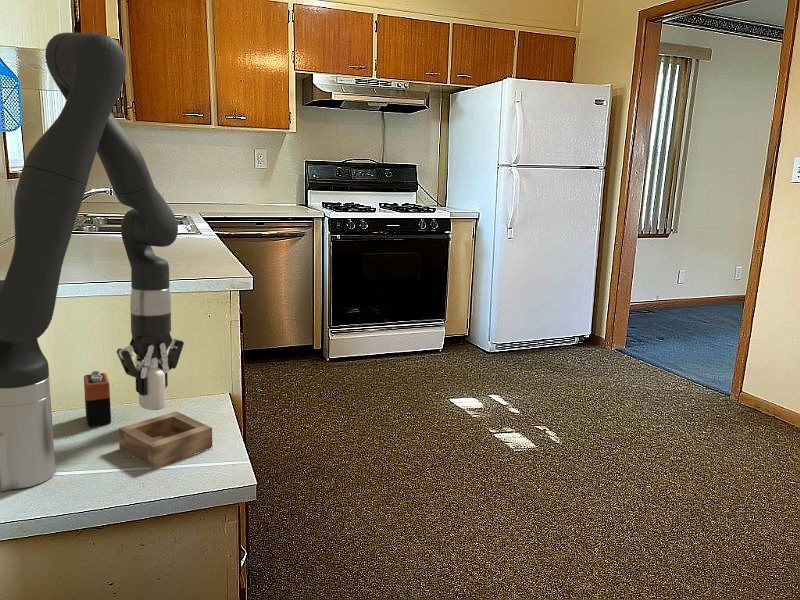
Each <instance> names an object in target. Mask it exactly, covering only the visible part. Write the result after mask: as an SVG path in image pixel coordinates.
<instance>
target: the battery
mask: <svg viewBox="0 0 800 600" xmlns="http://www.w3.org/2000/svg"><path fill="white" fill-rule="evenodd" d="M83 387H84V406H85V416H86V424H87V426H88V427H95V426H102V425H103V426H104V425H110V424H111V422H112V410H111V390H110V389H111V388H110V381H109V378H108V375H107V373H105V372H103V373H102V372H100V371H98V370H93V371H91V374H85V375H84V376H83Z"/></svg>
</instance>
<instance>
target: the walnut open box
mask: <svg viewBox="0 0 800 600" xmlns="http://www.w3.org/2000/svg"><path fill="white" fill-rule="evenodd" d="M118 445H119V446H118V448H119V450H120V451H122V452H124V453H125V452H126V454H127V453H128V455H129V454H130V455H129V456H131V457H132V456H134V457H135V458H134V457H133V458H134V459H136V458H137V459H139V460H140V461H139V460H138V461H139V462H141V461H142V462H143V464H144V465H146V466H148V467H149V468H151V469H153V470H156V469H159V468H162V467H165V466H167V465H171V464H174V463H176V462H178V460H179V461H181V459H182V460H184V459H187V458H189V457H188V456H190V455H193V454H195V453H198V452H201V451H204V450H206V449H209V448H211V447H212V448H213V427H211V426H209V425H207V424H205V423H203V422H201V421H198V420H196V419H194V418H192V417H191V416H187V415H185V414H184V413H181V412H179V411H173V412H169V413H165V414H162V415H159V416H155V417H151V418H149V419H145V420H141V421H139V422H135V423H132V424H128V425H124V426H122V427H118ZM209 450H210V449H209ZM206 451H207V450H206ZM204 452H205V451H204ZM201 453H202V452H201ZM198 454H199V453H198ZM195 455H196V454H195ZM193 456H194V455H193ZM186 457H187V458H186ZM190 457H191V456H190ZM183 458H184V459H183ZM137 459H136V460H137ZM142 462H141V463H142Z"/></svg>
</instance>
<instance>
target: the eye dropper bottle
mask: <svg viewBox="0 0 800 600" xmlns="http://www.w3.org/2000/svg"><path fill="white" fill-rule="evenodd" d="M146 378H147V395H144V396H142V395H140V394H139V393H138V402H139V406H140V407H141V408H142V409H146V410H150V411H159V410H162V409H165V408H166V390H165V374H164V372H163V371H162V370H161V369H160V368H158V359H157V358H152V359H151V361H150V366H149V367H148V369H147V374H146Z"/></svg>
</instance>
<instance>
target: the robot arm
mask: <svg viewBox="0 0 800 600" xmlns="http://www.w3.org/2000/svg"><path fill="white" fill-rule="evenodd" d="M44 55H45V63H46V66H47V69H48V71H49V73H50V76H51V77H52V79H53V81H54V83H55V84H56V86H57V88H58V89H59V91H60V92H61V94H62V96H63V98H64V99H65V100H66V102H65V104H64V106H63V107H62V110H61V111H60V114H59V115H58V117H57V118H56V119H55V120H54V121H53V123H52V124H51V126H50V127H49V128H47V130H45V132H44V133H43V135H41V136H40V138H39V139H38V140H37V141H36V142H35V143H34V145H33V147H32V148H31V149H30V151H29V153H28V154H27V155H26V158H25V160H24V163H23V167H22V169H21V173H20V176H19V179H18V182H17V186H16V190H15V194H14V204H13V216H14V217H13V221H14V222H13V223H14V224H13V225H14V247H13V253H12V257H11V260H10V264H9V266H8V269H7V272H6V275H5V277H4V279H0V492H5V491H9V490H18V489H25V488H29V487H34V486H37V485H40V484H42V483H44V482H46V481H47V480H50V479H51V478H52V477H53V476H54V475H55V473H56V457H55V455H56V454H55V443H54V431H53V430H54V429H53V428H54V427H53V415H52V414H53V413H52V398H51V383H50V382H51V381H50V368H49V362H48V360H47V358H46V356H45V354H44V353H43V352H42V349H41V346H40V344H39V340H38V339H39V338H40V337H42V335H44V334H45V332H46V331H47V330H48V328H49V325H50V324H51V322H52V321H53V320H52V319H53V316H54V313H55V312H54V311H55V307H56V302H57V295H58V290H59V284H60V278H61V273H62V267H63V264H64V260H65V257H66V254H67V251H68V250H67V249H68V247H69V245H70V241H71V238H72V234H73V231H74V228H75V224H76V221H77V218H78V215H79V212H80V209H81V206H82V202H83V199H84V196H85V192H86V189H87V185H88V183H89V182H88V181H89V177H90V174H91V170H92V167H93V163H94V160H95V158H96V155H98V157H99V160H100V162H101V164H102V166H103V168H104V170H105V173H106V176H107V179H108V180H109V182H110V186H111V187H112V190H113V192H114V194H115V196H116V199H117V200H118V202H119V203H121V204H122V205H124V206H126V207H129V208H131V209H130V210H128V211H127V212H126V213H125V214H124V215H123V217H122V220H121V223H120V234H121V239H122V242H123V243H122V244H123V246H124V249H125V252H126V255H127V260H128V263H129V265H130V272H131V273H130V275H131V276H130V278H131V279H130V281H131V285H130V286H131V291H130V300H129V303H130V304H129V305H130V307H129V309H130V332H131V339H130V342H129V345H128V346H126V347H124V348H118V349H117V350H116V354H117V356H118V358H119V359H118V360H120V363H121V365H122V367H123V370H124V372H125V374H126V375H128V376H131V377H133V378H135V391H136V392H137V393H138V395H139V394H140V395H142V396H144V395H147V378H146V374H147V369H148V367H149V366H150V361H151V359H152V358H157V359H158V368H160V369H161V370H162V371H163V372H164V374H165V391H166V388H167V387H168V382H169V380H168V379H169V378H168V377H169V375H168V373H169V371H170V370H173V369H177V365H178V363H179V359H180V356H181V353H182V351H183V347H184V345H185V344H184V343H185V342H184V341H183V340H180V339H178V338H172V336H171V331H172V298H171V292H170V265H169V263H168V261H167V260H166V259H164V258H162V257H159V256H158V255H156V254H155V253H154V250H153V248H152V247H158V248H160V247H161V248H166V247H169V246H171V245H173V244H174V243H175V242H176V239H177V238H178V234H179V225H178V220H177V218H176V216H175V213H174V212H173V210H172V209H171V207H170V206H169V204H168V203H167V202H166V200H165V198H164V197H163V196H162V194H161V193H160V192H159V191H158V189H157V188H156V186H155V185H154V182H153V178H152V177H151V173H150V171H149V168H148V166H147V163H146V161H145V158H144V156H143V154H142V153H141V151H140V149H139V147H138V146H137V144H136V143H135V142H134V141H133V138H131V137H130V136H129V134H128V133H127V132H126V131H125V129H124V128H123V127H122V125H121V124H120V123H119V121H118V120H117V119H116V118H115V116H114V115H113V113H112V111H113V109H114V106H115V104H116V102H117V99H118V97H119V95H120V92H121V89H122V87H123V84H124V82H125V78H126V75H127V74H126V72H127V71H126V70H127V61H126V56H125V53H124V50H123V48H122V46H121V45H120V43H119V41H117V40H116V39H115V38H113V37H111V36H109V35H106V34H101V33H93V32H61V33H57V34H55V35H54V36H53V37H52V38H51V39H49V41H48V42H47V45H46V47H45V54H44ZM168 349H169V350H168ZM167 351H168V353H167ZM133 352H134V354H135V360H134V361H133V357H134V355H133Z"/></svg>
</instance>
